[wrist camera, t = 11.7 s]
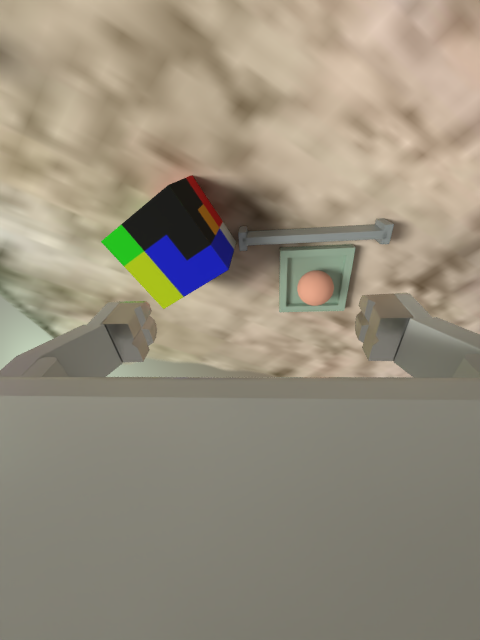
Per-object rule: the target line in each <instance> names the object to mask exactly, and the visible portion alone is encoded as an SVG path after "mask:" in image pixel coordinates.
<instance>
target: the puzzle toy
mask: <svg viewBox="0 0 480 640" xmlns="http://www.w3.org/2000/svg"><path fill="white" fill-rule="evenodd" d="M101 242H102V243H103V244H104V245H105V246H106V248H107V249H108V250H109V251H110V252H111V253H112V254H113V255H114V256H115V257H116V258H117V259H118V260H119V262H120V263H121V264H122V265H123V266H124V267H125V268H126V269H127V270H128V271H129V272H130V273H131V274H132V275H133V277H134V278H135V279H136V280H137V281H138V282H139V283H140V284H141V285H142V286H143V287H144V288H145V289H146V291H147V292H148V293H149V294H150V295H151V296H152V297H153V298H154V299H155V300H156V301H157V302H158V303H159V304H160V306H161V307H162V308H163V309H165V308H166V307H168V306H170V305H171V304H173V303H174V302H176V301H178V300H179V299H181V298H183V297H184V296H186V295H188V294H189V293H191V292H193V291H194V290H196V289H198V288H199V287H201V286H203V285H204V284H206V283H207V282H209V281H211V280H212V279H214V278H216V277H217V276H219V275H221V274H222V273H224V272H226V271H227V270H229V267H230V263H231V259H232V256H233V252H234V248H235V245H236V241H235V239H234V238H233V236H232V235H231V233H230V232H229V230H228V229H227V227H226V226H225V224H224V223H223V221H222V220H221V218H220V217H219V215H218V214H217V212H216V211H215V209H214V208H213V206H212V205H211V203H210V202H209V200H208V198H207V197H206V195H205V194H204V192H203V191H202V189H201V188H200V186H199V185H198V183H197V182H196V180H195V179H194V177H193V176H189V177H187V178H184V179H182V180H180V181H177V182H175V183H172V184H170V185H168V186H167V187H166V188H164V189H163V190H162V191H161V192H160V193H158V194H157V195H156V196H155V197H154V198H152V199H151V200H150V201H149V202H148V203H146V204H145V205H144V206H143V207H142V208H141V209H139V210H138V211H137V212H136V213H135V214H133V215H132V216H131V217H130V218H129V219H127V220H126V221H125V222H124V223H123V224H121V225H120V226H119V227H118V228H117V229H115V230H114V231H113V232H112V233H111V234H109V235H108V236H107V237H106V238H105V239H104V240H102V241H101Z"/></svg>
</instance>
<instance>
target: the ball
mask: <svg viewBox="0 0 480 640" xmlns="http://www.w3.org/2000/svg"><path fill="white" fill-rule="evenodd" d="M297 291H298V295H299V297H300V299H301V300H302V301H303V302H305V303H306V304H308V305H312V306H318V305H322V304H324V303H326V302H327V301H328V300H329V299H330V298H331V296H332V294H333V291H334V284H333V281H332V279H331V277H330V276H329V275H328V274H327V273H325V272H323V271H319V270H313V271H310V272H307V273H306V274H304V275H303V276H302V277H301V279H300V280H299V282H298V286H297Z"/></svg>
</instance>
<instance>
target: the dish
mask: <svg viewBox="0 0 480 640" xmlns="http://www.w3.org/2000/svg"><path fill="white" fill-rule="evenodd" d="M354 254H355V246H354V245H353V244H344V245H323V246H302V247H281V248H280V269H279V312H309V311H344V309H345V303H346V298H347V292H348V287H349V281H350V276H351V270H352V265H353V259H354ZM313 270H319V271H323V272H325V273H327V274H328V275H329V276H330V277H331V279H332V281H333V284H334V291H333V294H332V296H331V298H330V299H329V300H328V301H327V302H326V303H324V304H322V305H318V306H312V305H308V304H306V303H305V302H303V301H302V300H301V299H300V297H299V295H298V291H297V286H298V282H299V280H300V279H301V277H302V276H303V275H304V274H306V273H307V272H310V271H313Z"/></svg>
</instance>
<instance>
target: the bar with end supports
mask: <svg viewBox="0 0 480 640" xmlns="http://www.w3.org/2000/svg"><path fill="white" fill-rule="evenodd" d="M393 226H394V224H393V223H391V222H389V221H388V220H386V219H376V223H375V224H374V225H356V226H338V227H320V228H302V229H283V230H265V231H247V226H244V227H240V228H239V232H238V236H239V249H240V251H247V248H248V245H266V244H287V243H307V242H327V241H347V240H368V239H375V240H376V241H377V242H379V243H380V244H389V242H390V238H391V234H392V230H393Z"/></svg>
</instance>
